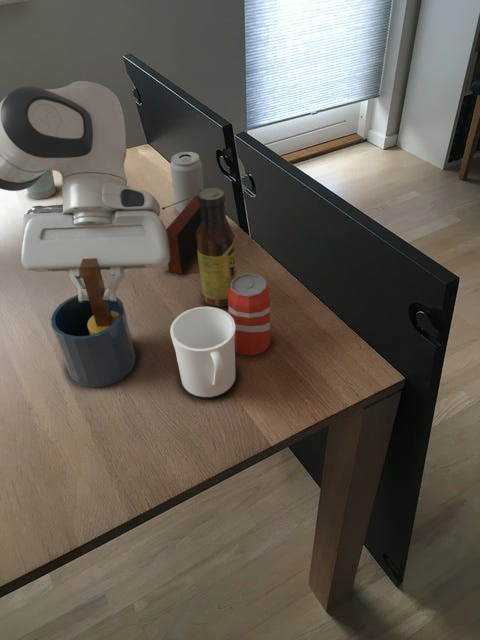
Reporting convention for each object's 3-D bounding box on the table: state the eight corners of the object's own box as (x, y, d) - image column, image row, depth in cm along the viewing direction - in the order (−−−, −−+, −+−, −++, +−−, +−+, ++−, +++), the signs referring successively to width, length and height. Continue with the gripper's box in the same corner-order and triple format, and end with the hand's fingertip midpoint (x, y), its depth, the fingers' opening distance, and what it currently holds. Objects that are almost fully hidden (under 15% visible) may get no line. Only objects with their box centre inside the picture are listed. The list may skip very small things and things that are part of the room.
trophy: (89, 351, 78) (65, 274, 69) (95, 328, 82) (73, 252, 73) (123, 350, 78) (104, 273, 69) (128, 326, 82) (110, 250, 73)
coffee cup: (26, 205, 120) (9, 154, 112) (21, 189, 126) (4, 140, 118) (64, 196, 123) (50, 146, 115) (58, 181, 129) (44, 132, 121)
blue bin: (61, 388, 80) (42, 340, 73) (76, 340, 87) (60, 292, 80) (130, 386, 79) (117, 337, 73) (139, 338, 87) (128, 290, 80)
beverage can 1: (203, 200, 119) (198, 148, 111) (207, 215, 114) (202, 162, 106) (175, 203, 118) (168, 152, 110) (177, 219, 114) (170, 166, 106)
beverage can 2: (269, 329, 87) (269, 270, 79) (270, 358, 82) (270, 297, 74) (231, 330, 87) (227, 271, 79) (230, 358, 83) (226, 298, 75)
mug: (171, 367, 82) (162, 316, 75) (225, 350, 84) (222, 300, 77) (193, 420, 74) (186, 369, 67) (253, 400, 76) (251, 349, 70)
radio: (203, 226, 111) (196, 157, 101) (216, 228, 110) (210, 159, 100) (162, 278, 99) (150, 205, 89) (177, 281, 98) (166, 208, 88)
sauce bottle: (240, 306, 92) (235, 203, 78) (204, 310, 91) (192, 207, 78) (236, 283, 97) (230, 182, 83) (201, 287, 96) (190, 186, 83)
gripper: (12, 200, 72) (13, 302, 72) (163, 194, 72) (166, 296, 71) (31, 212, 79) (32, 306, 78) (170, 206, 78) (173, 301, 78)
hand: (97, 301), depth 75 cm, fingers closed on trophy
